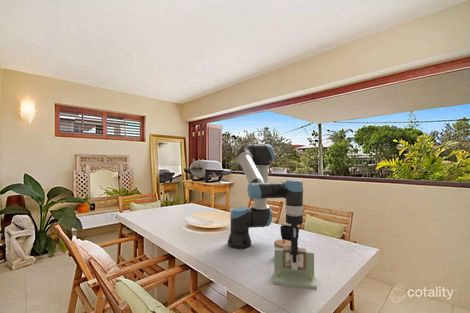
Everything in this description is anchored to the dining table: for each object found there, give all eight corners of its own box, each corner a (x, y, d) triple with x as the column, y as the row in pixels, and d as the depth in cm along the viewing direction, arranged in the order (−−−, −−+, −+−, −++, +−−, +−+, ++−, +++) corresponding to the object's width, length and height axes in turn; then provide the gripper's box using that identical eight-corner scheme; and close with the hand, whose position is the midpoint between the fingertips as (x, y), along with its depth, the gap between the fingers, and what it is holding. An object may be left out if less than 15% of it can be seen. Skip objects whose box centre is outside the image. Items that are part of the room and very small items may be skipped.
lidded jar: (281, 262, 121) (281, 244, 121) (270, 254, 131) (270, 238, 131) (297, 258, 125) (297, 241, 125) (285, 251, 135) (285, 235, 135)
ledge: (273, 283, 100) (273, 258, 100) (274, 271, 110) (274, 248, 111) (316, 289, 96) (316, 262, 96) (313, 276, 106) (313, 252, 107)
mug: (292, 245, 144) (292, 230, 145) (277, 240, 154) (277, 226, 154) (300, 242, 150) (300, 228, 150) (285, 238, 159) (285, 224, 159)
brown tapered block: (282, 267, 102) (282, 249, 102) (282, 263, 106) (283, 246, 106) (306, 270, 99) (306, 252, 99) (305, 266, 103) (305, 248, 103)
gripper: (304, 219, 94) (304, 277, 93) (301, 210, 110) (301, 259, 110) (285, 218, 95) (285, 274, 95) (285, 209, 112) (285, 257, 112)
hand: (294, 266), depth 102 cm, fingers closed on brown tapered block, 4 cm apart
